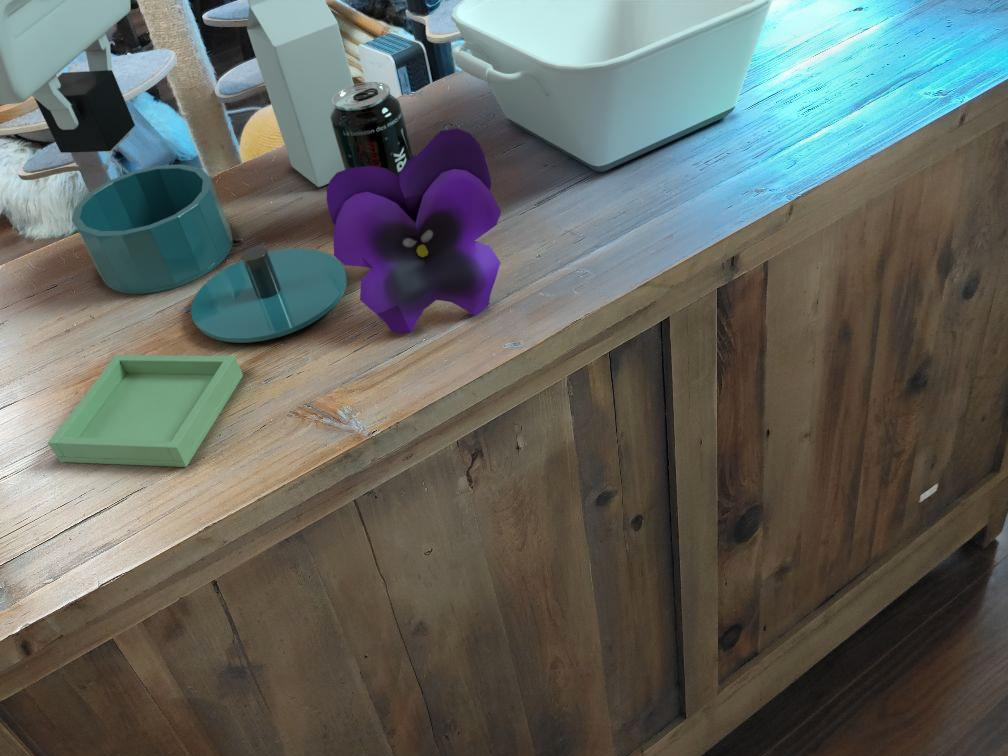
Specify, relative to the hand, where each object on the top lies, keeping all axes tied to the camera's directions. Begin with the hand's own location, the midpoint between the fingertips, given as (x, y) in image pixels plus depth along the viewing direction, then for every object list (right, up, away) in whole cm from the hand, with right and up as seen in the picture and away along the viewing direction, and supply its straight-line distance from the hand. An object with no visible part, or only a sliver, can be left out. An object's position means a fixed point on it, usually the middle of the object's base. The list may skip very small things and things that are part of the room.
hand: (90, 109), depth 89 cm
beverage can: (+24, -4, +15) cm, 29 cm away
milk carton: (+17, +4, +24) cm, 29 cm away
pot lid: (+14, -15, +6) cm, 22 cm away
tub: (+48, +8, +22) cm, 54 cm away
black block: (0, -2, +2) cm, 3 cm away
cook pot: (+1, -9, +15) cm, 17 cm away
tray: (+7, -28, -4) cm, 29 cm away
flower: (+29, -15, +4) cm, 33 cm away
